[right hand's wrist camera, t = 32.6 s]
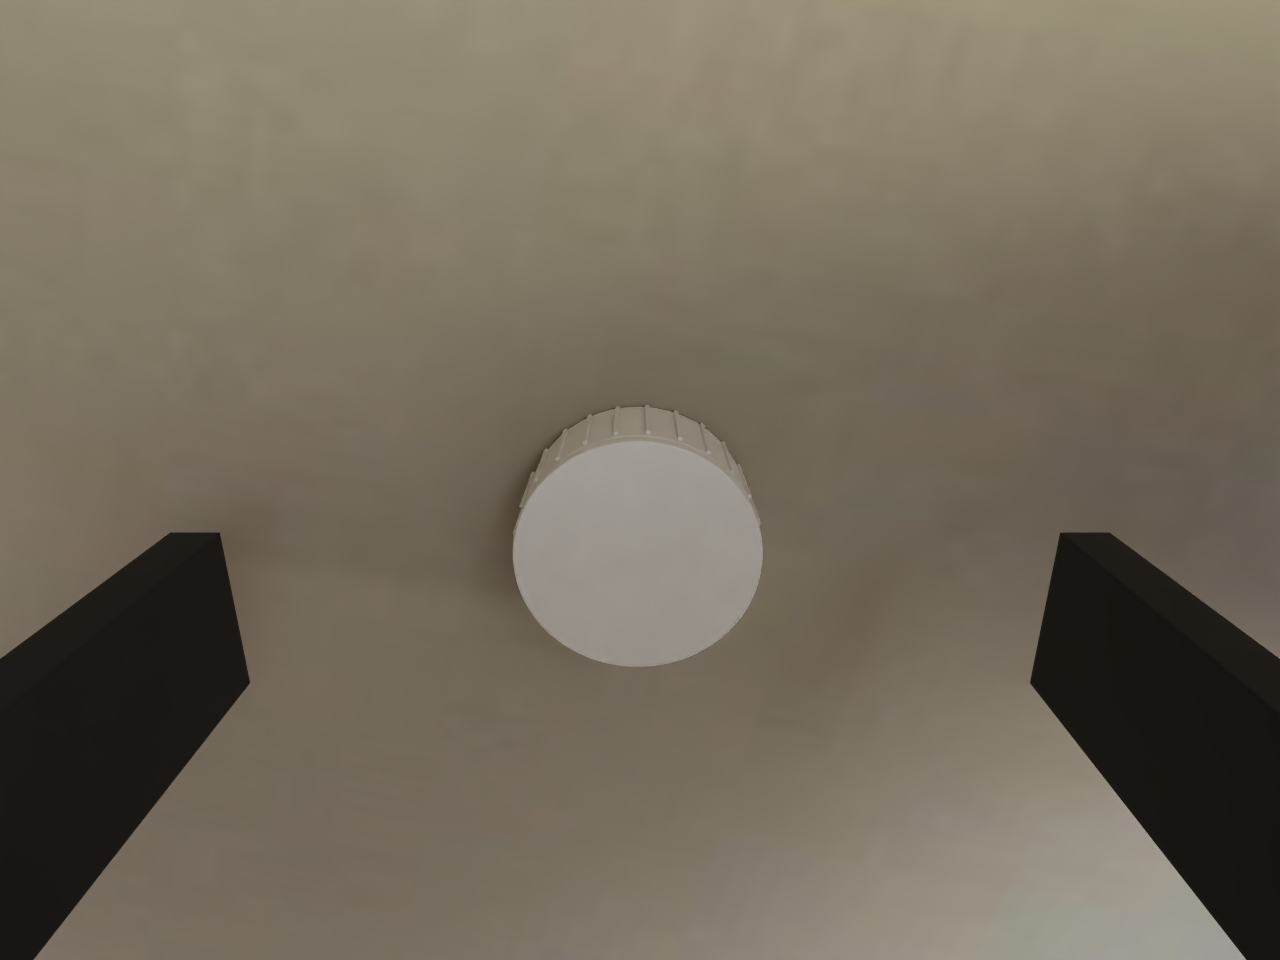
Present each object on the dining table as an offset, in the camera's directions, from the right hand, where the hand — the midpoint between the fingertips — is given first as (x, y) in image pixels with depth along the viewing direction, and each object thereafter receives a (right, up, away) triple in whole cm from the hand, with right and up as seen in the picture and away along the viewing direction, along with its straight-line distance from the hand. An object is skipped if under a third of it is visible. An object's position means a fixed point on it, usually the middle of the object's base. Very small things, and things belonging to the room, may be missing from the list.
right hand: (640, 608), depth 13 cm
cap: (0, +1, +2) cm, 2 cm away
